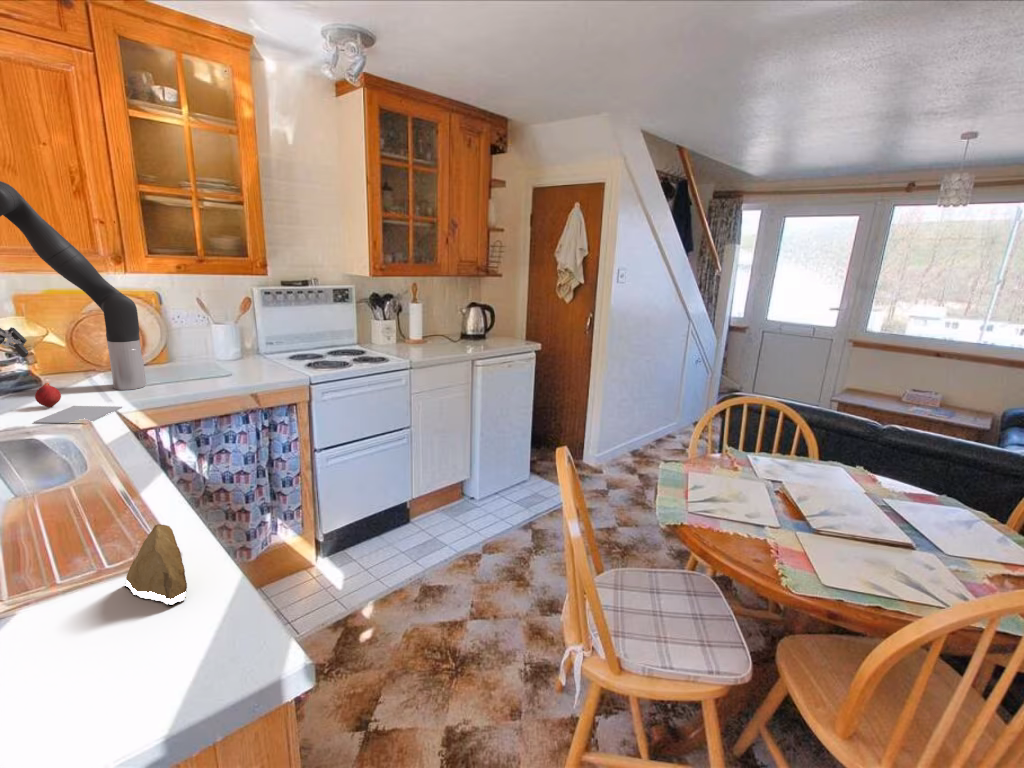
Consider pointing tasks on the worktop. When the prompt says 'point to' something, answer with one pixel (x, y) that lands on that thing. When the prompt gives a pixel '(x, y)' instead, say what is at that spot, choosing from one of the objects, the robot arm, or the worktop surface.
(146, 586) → the rock
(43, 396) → the onion
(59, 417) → the mat
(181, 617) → the worktop surface
